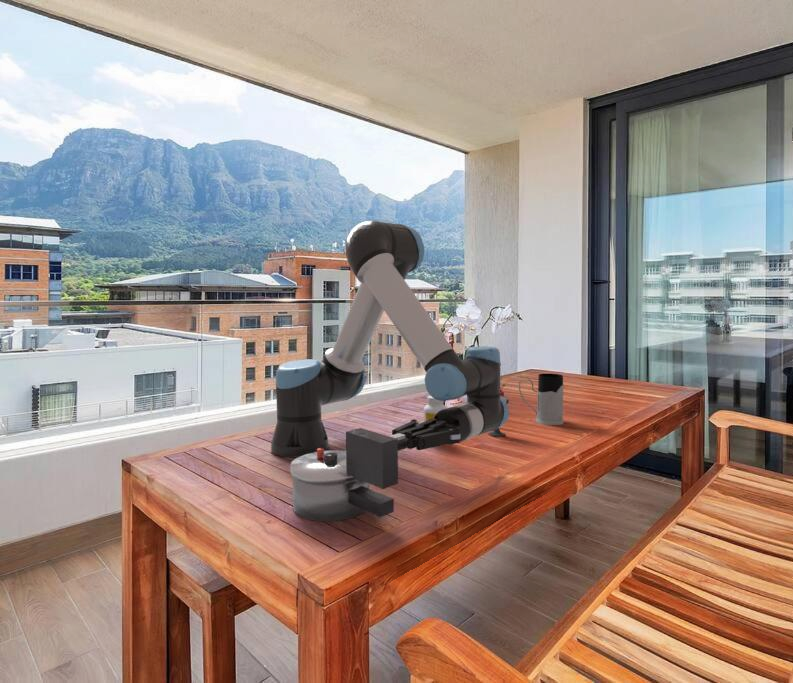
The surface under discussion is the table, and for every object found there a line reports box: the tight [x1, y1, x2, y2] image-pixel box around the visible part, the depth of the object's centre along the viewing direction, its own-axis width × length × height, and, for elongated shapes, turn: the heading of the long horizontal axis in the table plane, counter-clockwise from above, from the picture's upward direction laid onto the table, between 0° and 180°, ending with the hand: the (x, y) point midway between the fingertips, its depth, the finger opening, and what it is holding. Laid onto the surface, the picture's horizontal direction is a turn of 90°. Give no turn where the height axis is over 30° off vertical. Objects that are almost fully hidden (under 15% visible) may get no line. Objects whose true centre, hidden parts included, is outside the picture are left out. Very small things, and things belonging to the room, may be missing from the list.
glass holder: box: [518, 373, 565, 426], centre depth 163 cm, size 9×14×15 cm, turn 70°
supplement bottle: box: [423, 395, 448, 422], centre depth 141 cm, size 7×7×13 cm
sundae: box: [488, 384, 510, 438], centre depth 148 cm, size 7×7×15 cm
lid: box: [289, 427, 399, 490], centre depth 96 cm, size 25×16×9 cm, turn 44°
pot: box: [291, 475, 395, 522], centre depth 98 cm, size 26×15×7 cm, turn 44°
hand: (377, 448), depth 92 cm, fingers closed
